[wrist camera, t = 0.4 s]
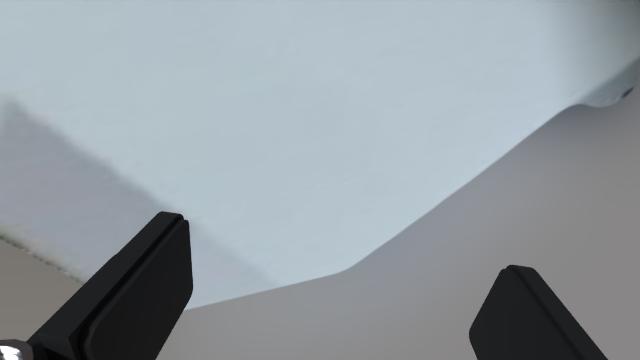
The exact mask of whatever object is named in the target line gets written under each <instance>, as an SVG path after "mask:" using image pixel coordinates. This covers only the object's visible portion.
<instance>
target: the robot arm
mask: <svg viewBox="0 0 640 360" xmlns="http://www.w3.org/2000/svg"><path fill="white" fill-rule="evenodd" d="M192 291H193V277H192V262H191V247H190V232H189V222H188V221H187V220H184V218H183V216H182V215H181V214H177V213H170V212H164V211H162V212H159V213H158V214H157V215H156V216H155V217H154V218H153V219H152V220H151V221H150V222H149V223H148V224H147V225H146V226H145V227H144V228H143V229H142V230H141V231H140V232H139V233H138V234H137V235H136V236H135V237H134V238H133V239H132V240H131V241H130V242H129V243H128V244H127V245H126V246H125V247H123V248H122V249H121V250H120V251H119V252H118V253H117V254H116V255H114V256H113V257H112V258H111V259H110V260H109V261H108V262H107V263H106V264H105V265H104V266H103V267H102V268H101V269H99V270H98V271H97V272H96V273H95V274H94V275H93V276H92V277H91V278H90V279H89V280H88V281H87V282H86V283H85V284H84V285H83V286H82V287H81V288H80V289H79V290H78V291H77V292H76V293H75V294H74V295H73V296H72V297H71V298H70V299H69V300H68V301H67V302H66V303H65V304H64V305H63V306H62V307H61V308H60V309H59V310H58V311H57V312H56V313H55V314H54V315H53V316H52V317H51V318H50V319H49V320H48V321H47V322H46V323H45V324H44V325H43V326H42V327H41V328H39V329H38V331H36V332H35V333H34V334H33V335H32V336H31V337H30V339H28V341H26V342H25V341H21V340H17V339H4V340H0V360H155V359H156V358H157V356H158V354H159V352H160V351H161V349H162V347H163V345H164V343H165V342H166V340H167V338H168V336H169V335H170V333H171V331H172V329H173V328H174V326H175V324H176V322H177V321H178V319H179V317H180V315H181V314H182V312H183V310H184V308H185V307H186V305H187V303H188V301H189V299H190V297H191V295H192ZM469 338H470V342H471V345H472V347H473V349H474V352H475V354H476V357H477V359H478V360H608V359H607V358H606V357H605V356H604V354H603V353H602V352H601V351H600V349H599V348H598V347H597V346H596V344H595V343H594V342H593V341H592V339H591V338H590V337H589V336H588V334H587V333H586V332H585V331H584V329H583V328H582V327H581V326H580V324H579V323H578V322H577V321H576V320H575V318H574V317H573V316H572V315H571V313H570V312H569V311H568V310H567V308H566V307H565V306H564V305H563V303H562V302H561V301H560V300H559V298H558V297H557V296H556V295H555V293H554V292H553V291H552V290H551V289H550V287H549V286H548V285H547V284H546V282H545V281H544V280H543V279H542V277H541V276H540V275H539V274H538V272H536V270H535V269H533V268H531V267H524V266H518V265H509V266H507V268H506V269H502V270H501V271H500V273H499V275H498V277H497V279H496V280H495V282H494V284H493V286H492V288H491V290H490V292H489V294H488V296H487V298H486V299H485V302H484V303H483V305H482V307H481V309H480V311H479V312H478V314H477V316H476V318H475V320H474V322H473V324H472V326H471V328H470V331H469Z"/></svg>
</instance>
